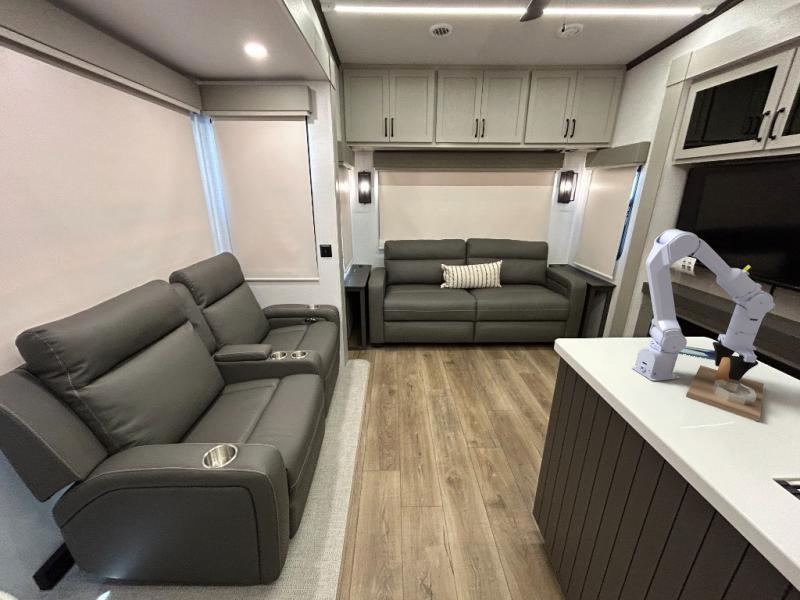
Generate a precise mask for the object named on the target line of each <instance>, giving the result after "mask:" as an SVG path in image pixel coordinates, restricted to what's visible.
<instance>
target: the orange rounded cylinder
mask: <svg viewBox="0 0 800 600" xmlns="http://www.w3.org/2000/svg"><path fill="white" fill-rule="evenodd" d="M716 370H717V373H716V378H718V379H720V380H729V381H733V382H734V380H731V379H729V371H730V358H728V357H723V358H722V360H721V362H720V365H719V367H717V369H716Z"/></svg>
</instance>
